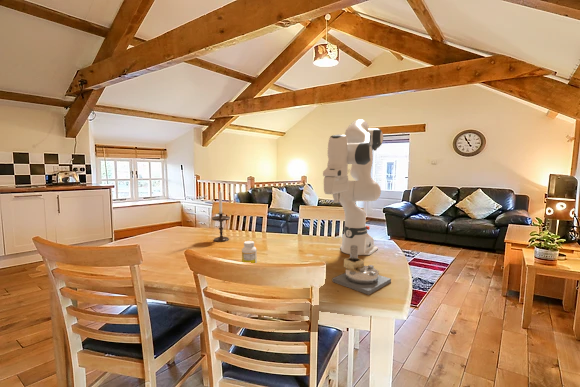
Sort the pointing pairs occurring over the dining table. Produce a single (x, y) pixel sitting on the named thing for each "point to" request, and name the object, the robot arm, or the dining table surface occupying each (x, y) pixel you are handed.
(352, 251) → the steel pin
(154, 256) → the dining table surface
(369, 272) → the grey round chuck
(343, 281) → the base
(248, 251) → the supplement bottle
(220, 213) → the candlestick
